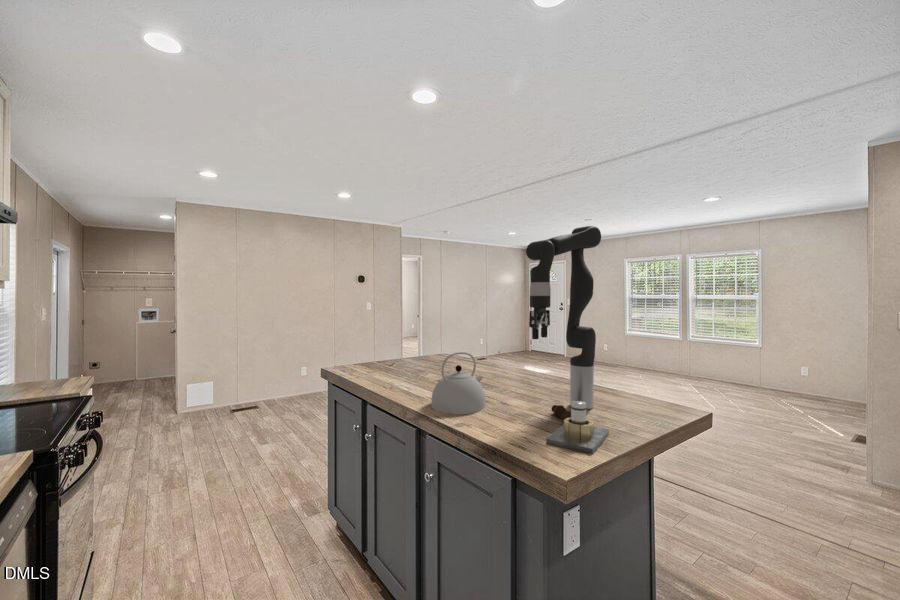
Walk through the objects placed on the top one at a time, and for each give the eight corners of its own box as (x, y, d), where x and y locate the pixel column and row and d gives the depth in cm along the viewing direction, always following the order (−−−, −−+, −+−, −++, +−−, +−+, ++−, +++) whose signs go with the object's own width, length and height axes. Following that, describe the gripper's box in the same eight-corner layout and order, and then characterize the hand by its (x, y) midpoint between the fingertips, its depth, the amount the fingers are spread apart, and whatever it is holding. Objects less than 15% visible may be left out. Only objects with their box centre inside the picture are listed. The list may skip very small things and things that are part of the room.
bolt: (556, 418, 151) (574, 430, 136) (546, 412, 151) (562, 423, 136) (563, 404, 152) (581, 415, 137) (553, 398, 151) (570, 408, 136)
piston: (573, 430, 127) (573, 400, 127) (587, 433, 125) (588, 402, 125) (568, 434, 123) (569, 403, 123) (583, 437, 121) (584, 405, 121)
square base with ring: (567, 425, 136) (567, 410, 136) (608, 434, 128) (608, 417, 128) (546, 443, 120) (546, 425, 120) (592, 454, 112) (592, 435, 112)
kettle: (466, 395, 178) (466, 346, 178) (501, 406, 160) (501, 352, 160) (420, 404, 163) (420, 351, 162) (453, 418, 145) (454, 358, 144)
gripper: (542, 294, 136) (542, 340, 136) (556, 294, 147) (556, 337, 147) (522, 294, 140) (522, 339, 140) (537, 294, 152) (537, 336, 152)
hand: (539, 338), depth 144 cm, fingers open, 8 cm apart
